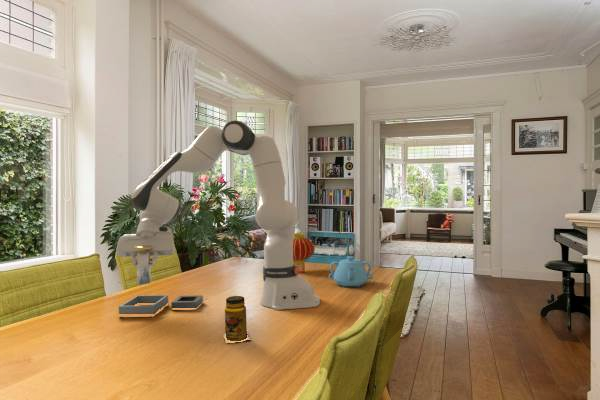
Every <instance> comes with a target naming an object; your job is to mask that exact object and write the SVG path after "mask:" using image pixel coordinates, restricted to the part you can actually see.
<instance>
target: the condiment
mask: <svg viewBox="0 0 600 400" xmlns="http://www.w3.org/2000/svg"><path fill="white" fill-rule="evenodd" d="M225 301H226V303H225V305H226V306H225V308H224V317H225V318H224V320H225V321H224V322H225V330H224V331H225V333H226V338H227V340H230V341H241V340H244V339H246V338H247V335H249V333H248V331H247V328H248V327H247V308H246V305H245V304H246V303H245V302H246V301H245V297H243V296H242V295H232V296H228V297H227V298H226V300H225ZM247 333H248V334H247Z"/></svg>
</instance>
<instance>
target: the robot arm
mask: <svg viewBox="0 0 600 400" xmlns="http://www.w3.org/2000/svg"><path fill="white" fill-rule="evenodd" d="M226 151H228V152H231V153H235V154H236V155H240V156H246V155H249V157H250V159H251V165H252V169H253V173H254V179H255V183H256V191H257V192H256V193H257V204H256V205H257V207H256V211H255V214H254V218H255V219H254V220H255V223H257V225H258V227H260V228H261V229H263V230H265V231H267V234H266V239H265V240H264V244H263V260H264V261H263V264H264V265H263V267H262V279H263V287H262V288H263V289H262V295H261V300H260V304H261V305H262V306H264V307H268V308H271V309H274V310H279V311H281V310H292V309H295V310H296V309H303V308H304V309H305V308H306V309H308V308H316V307H318V306H319V305H320V304H321V299H320V296H318V295H316V294H315V292H314V288H313V286H312V284H311V283H310V282H309V281H308V280H306V279H305V278H303V276H301V275H300V272H301V269H300V267H299V265H293V240H294V234H296V233H295V232H296V222H297V215H298V214H299V213H298V209H297V207H296V206H295V204H294V203H292V202H291V201H289V200H286V196H285V189H286V188H285V187H286V183H287V182H286V177H285V172H284V167H283V164H282V159H281V156H280V152H279V148H278V146H277V144H276V141H275V140H274V139H273V138H272V137H270V136H267V135H265V136H256V134H255V133H254V131H253V130H252V129H251V127H249V125H247V124H246V123H245V122H242V121H240V120H231V121H228V122H227V123H225V124H224V126H223V128H222V129H221V127H219V126H216V125H215V126H214V125H210V126H207V127H206V128H205V129H204V130H203V131H202V132H201V133H200V134H199V135H198V136H197V137H196V138H195V140H194V141H193V142H192V144H191V145H190V146H189V147H188V148H186V149H185V150H183V151H182V152H180V151H176V152H174V153H173V154H171V155H170V156H169V157H168V158H166V160H165V161H164V162H163V163H161V165H160V166H159V167H157V168H156V169H155V170H154V172H152V174H150V175H149V176H148V177H147V178H146V179H145V180H143V182H141V183H140V184H138V185H137V186H136V187H135V188H134V190H133V191H132V193H131V195H130V200H131V203H132V206H133V207H134V208H135V209H138V210H140V211H141V212H140V216H139V223H138V225H137V229H136V233H131V234H126V233H125V234H123V235H122V236H120V237H119V238H118V243H117V245H116V247H115V248H116V249H115V252H116V255H117V257H120V258H128V257H130V259H131V261H132V262H131V263H132V266H137V251H134V247H135V246H142V245H151V246H152V250H150V261H149V264H150V266H155V263H156V261H157V260H158V259H159V257H160V256H173V255H174V254H175V248H176V247H175V242H174V234H173V231H172V228H170V227H168V226H165V225H167V224H170V223H172V222H174V221H175V220H177V219H178V217H179V215H180V212H181V203H180V201H179V200H180V199H179V200H178V199H177V198H176V197H174V196H172V195H170V194H169V193H166V192H165V191H162V190H160V189H159V188H158V187H159V186H160V185H161V184H162V183H163V182H164V181H165V180H166V179H167V178H168V177H169V176H170V175H172V174H173V173H176V172H184V173H185V172H186V173H189V174H204V173H206V172H208V171H210V169H211V168H212V167H213V166H214V165H215V163H216V162H217V161H218V159H219V158H220V156H222V154H223V153H224V152H226Z"/></svg>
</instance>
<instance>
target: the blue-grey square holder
mask: <svg viewBox="0 0 600 400" xmlns="http://www.w3.org/2000/svg"><path fill="white" fill-rule="evenodd" d="M202 302H203V303H204V295H201V294H200V295H179V296H178V297H176V298H175V299H174V300H172V301H171V306H170V307H171V309H172V308H197V307H198V306H199V305H200V304H201V303H202Z"/></svg>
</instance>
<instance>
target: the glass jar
mask: <svg viewBox="0 0 600 400" xmlns="http://www.w3.org/2000/svg"><path fill="white" fill-rule="evenodd" d="M150 250H152V246H151V245H142V246H135V247H134V251H137V256H136V259H137V265H136V275H137V277H136V278H137V280H136V281H137V285H148V284H150V283H151V265H150V264H149V261H150V259H151V256H150Z"/></svg>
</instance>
